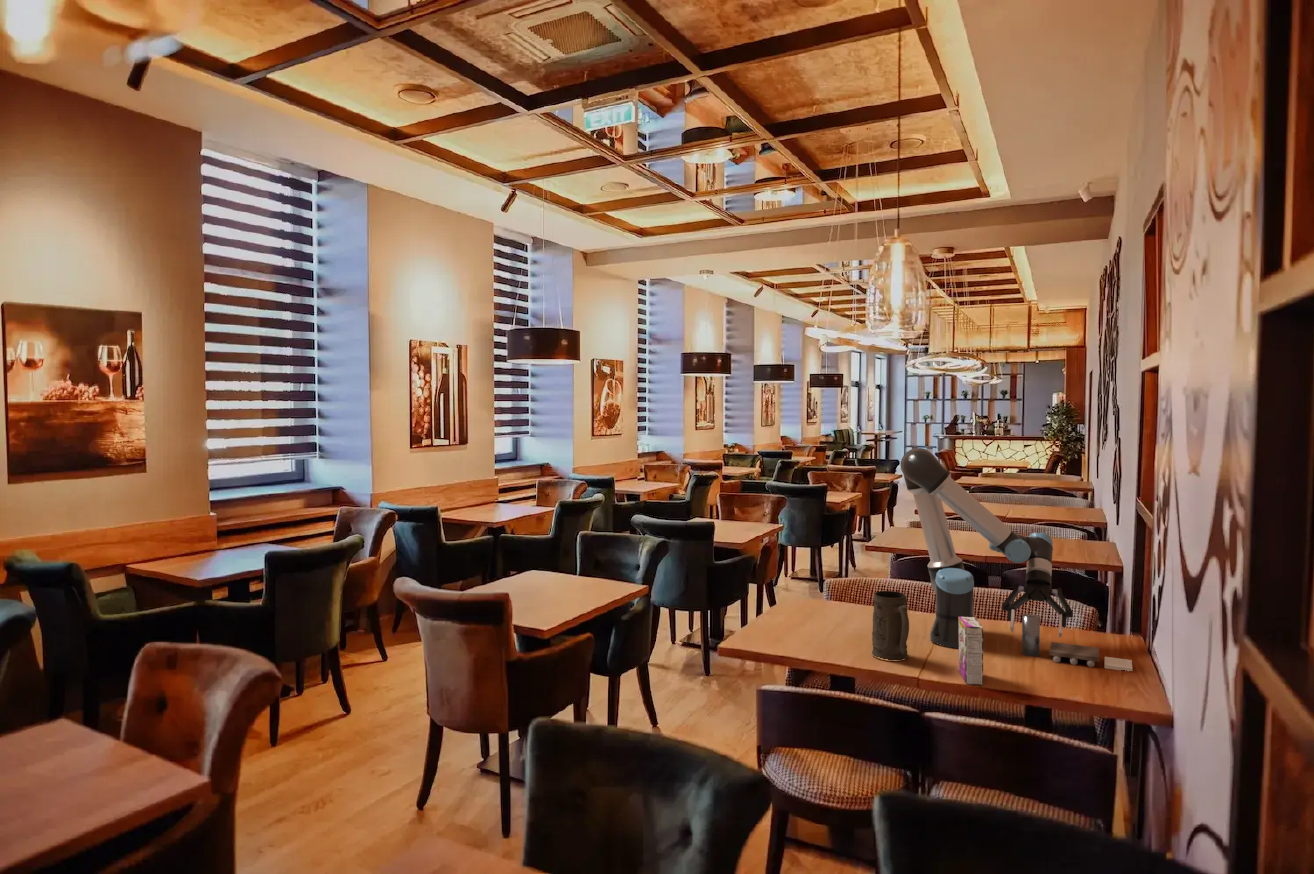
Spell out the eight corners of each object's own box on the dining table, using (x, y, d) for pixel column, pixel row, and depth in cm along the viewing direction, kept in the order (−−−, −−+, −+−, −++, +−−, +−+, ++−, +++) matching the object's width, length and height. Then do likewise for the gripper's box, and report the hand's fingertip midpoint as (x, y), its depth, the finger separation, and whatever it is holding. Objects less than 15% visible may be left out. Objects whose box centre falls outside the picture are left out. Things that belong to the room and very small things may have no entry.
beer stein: (863, 652, 244) (865, 591, 242) (890, 648, 248) (893, 587, 247) (896, 670, 230) (899, 605, 228) (924, 665, 234) (927, 601, 233)
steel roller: (1021, 655, 241) (1021, 616, 241) (1022, 650, 245) (1023, 613, 245) (1039, 657, 239) (1039, 618, 238) (1040, 653, 243) (1040, 615, 243)
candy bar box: (957, 671, 226) (957, 615, 226) (975, 672, 225) (975, 616, 225) (964, 684, 215) (965, 626, 215) (983, 685, 214) (984, 627, 214)
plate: (1104, 668, 228) (1104, 664, 228) (1104, 659, 236) (1104, 656, 236) (1132, 671, 224) (1132, 668, 224) (1131, 663, 232) (1131, 659, 232)
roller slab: (1049, 661, 234) (1049, 651, 234) (1051, 651, 244) (1051, 641, 244) (1098, 668, 228) (1098, 657, 228) (1099, 658, 237) (1099, 647, 237)
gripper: (1082, 585, 251) (1081, 643, 238) (998, 578, 263) (993, 633, 250) (1081, 572, 246) (1081, 630, 233) (996, 565, 258) (991, 621, 246)
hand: (1035, 632), depth 242 cm, fingers open, 13 cm apart
